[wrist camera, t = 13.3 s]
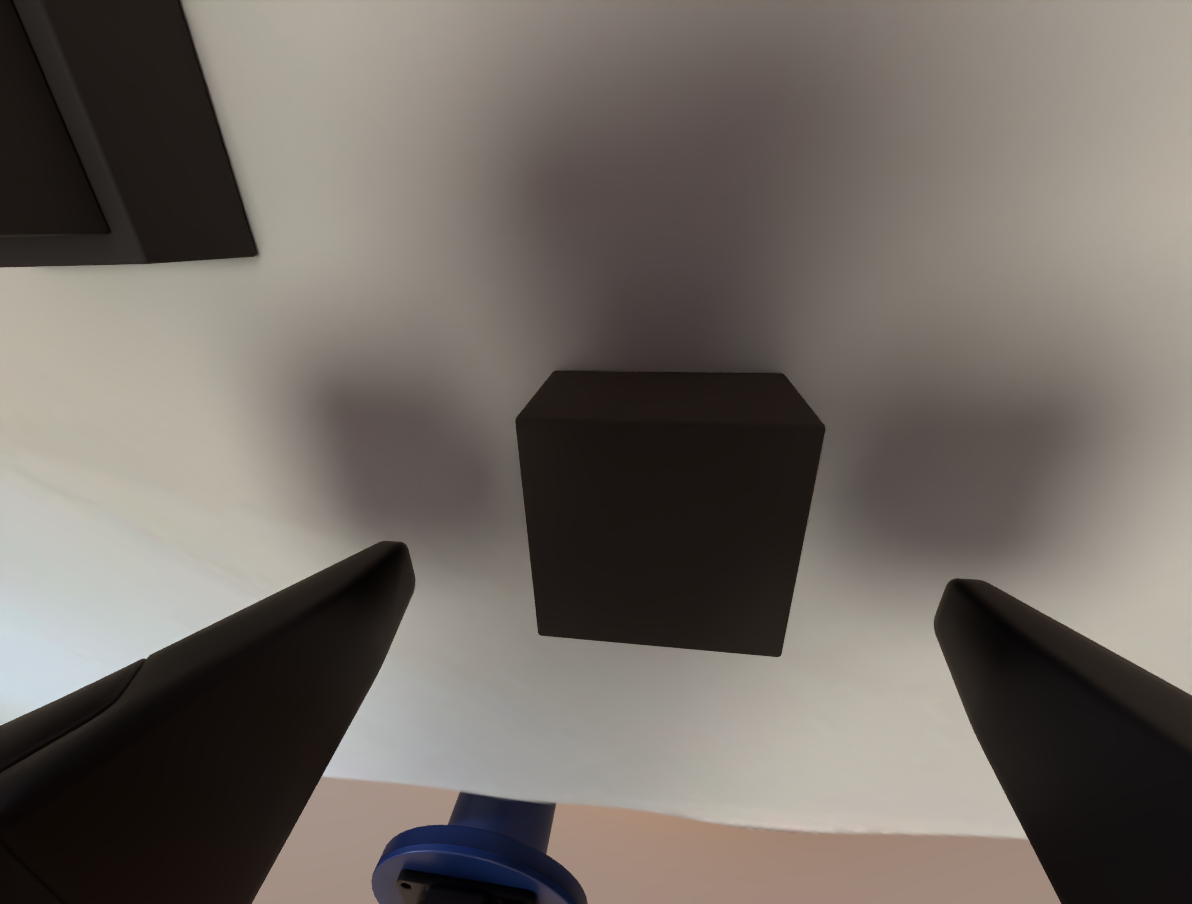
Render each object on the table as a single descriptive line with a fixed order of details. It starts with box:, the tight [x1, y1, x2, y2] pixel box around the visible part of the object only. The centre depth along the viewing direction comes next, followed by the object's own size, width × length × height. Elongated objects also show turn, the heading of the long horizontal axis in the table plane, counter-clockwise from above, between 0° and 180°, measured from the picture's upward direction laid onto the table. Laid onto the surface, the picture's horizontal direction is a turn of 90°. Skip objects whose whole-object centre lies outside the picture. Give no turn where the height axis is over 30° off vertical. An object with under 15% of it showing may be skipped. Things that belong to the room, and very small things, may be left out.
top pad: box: [515, 371, 825, 657], centre depth 10 cm, size 5×5×3 cm
